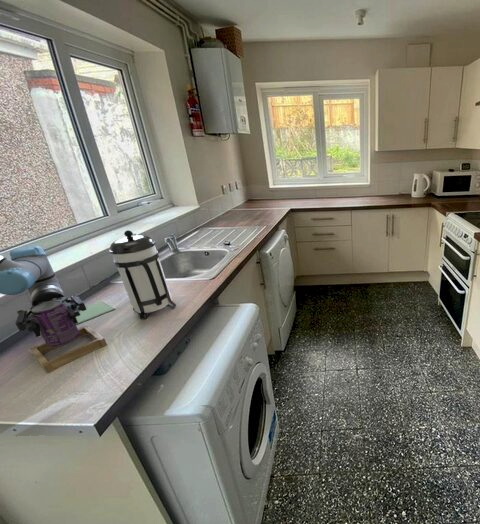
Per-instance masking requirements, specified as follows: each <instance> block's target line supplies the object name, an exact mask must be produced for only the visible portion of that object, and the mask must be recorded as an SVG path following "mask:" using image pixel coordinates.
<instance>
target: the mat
mask: <svg viewBox="0 0 480 524" xmlns="http://www.w3.org/2000/svg"><path fill="white" fill-rule="evenodd" d="M85 307H86V309H87V310H85V311H79V313H80V316H77V317H76V319H77V321H78V323H76V326H78V325H80V324H82V323H85V322H87V321H89V320H92V319H95V318H97V317H99V316H102V315H105V314H107V313H109V312H112V311H114V310H116V308H115V307H114V306H112V305H110V304H108V303H107V302H105V301H103V300H100V301H97V302H95V303H92V304H89V305H85Z"/></svg>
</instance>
